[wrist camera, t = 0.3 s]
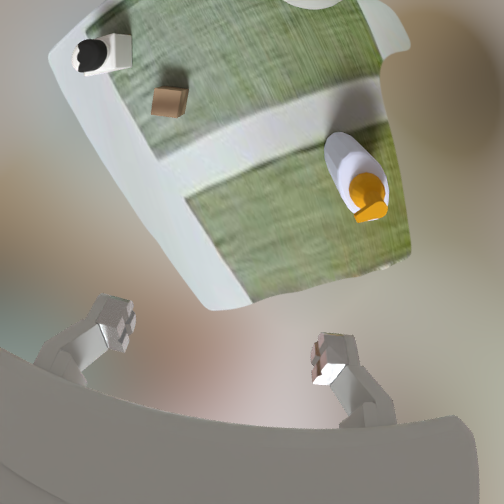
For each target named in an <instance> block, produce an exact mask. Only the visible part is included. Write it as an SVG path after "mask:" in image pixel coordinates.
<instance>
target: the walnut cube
mask: <svg viewBox="0 0 504 504" xmlns="http://www.w3.org/2000/svg"><path fill="white" fill-rule="evenodd" d="M188 92H189V89H185V88H177V87H169V86H162V87H158V88H155V90H154V96H153V103H152V110H151V115H158V116H166V117H173V118H178V117H180V116H181V115H183V114H185V109H186V103H187V98H188Z"/></svg>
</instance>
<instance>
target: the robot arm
mask: <svg viewBox="0 0 504 504" xmlns="http://www.w3.org/2000/svg"><path fill="white" fill-rule="evenodd" d="M284 1H285V2H287V3H289V4H291V5H294V6H296V7H300V8H305V9H323V8H327V7H330V6H333V5H335V4H337V3H338V2H340V1H342V0H284ZM133 306H134V305H133V302H132V301H130V300H126V299H122V298H119V297H115V296H111V295H108V294H104V293H101V294H100V295H99V296H98V297H97V299H96V301H95V302H94V304H93V306H92V308H91V310H90V312H89V313H88V315H87V317H86V319H85V320H84V319H82V320H80V321H78V322H77V323H75V324H74V325H72V326H70V327H68V328H67V329H65V330H64V331H62V332H60V333H59V334H57V335H55V336H54V337H52V338H51V339H49V340H47V341H46V342H44V344H43V346H42V348H41V350H40V352H39V354H38V356H37V358H36V360H35V362H34V364H31V363H29V362H27V361H25V360H23V359H21V358H20V357H18V356H16V355H14V354H12V353H10V352H8V351H7V350H5V349H3V348H1V347H0V504H479V468H478V459H477V451H476V445H475V440H474V436H473V434H472V432H471V430H470V429H469V428H468V427H467V426H466V425H465V424H464V423H463V421H462V420H461V419H459V418H458V417H457V416H455V415H452V416H445V417H441V418H435V419H430V420H424V421H418V422H411V423H404V424H397V421H396V415H395V409H394V404H393V400H392V399H391V398H390V397H389V395H388V394H387V393H386V392H385V391H384V390H383V388H382V387H381V386H380V385H379V384H378V382H377V381H376V380H375V379H374V378H373V377H372V375H371V374H370V373H369V372H368V371H367V370H366V369H365V367H364V366H360V361H359V356H358V351H357V346H356V341H355V337H354V336H353V335H344V334H335V333H324V332H322V333H320V334H319V336H318V341H317V342H316V343H314V345H313V347H312V350H311V363H312V365H313V366H314V368H313V370H312V372H311V373H312V384H320V385H330V387H331V389H332V391H333V392H334V394H335V395H336V397H337V398H338V400H339V402H340V403H341V405H342V406H343V408H344V410H345V411H346V413H347V414H348V417H347V418H346V419H344V420H343V421H342V422H341V423H340V424H339V429H296V428H278V427H277V428H276V427H263V426H253V425H243V424H235V423H228V422H221V421H215V420H209V419H203V418H197V417H191V416H187V415H182V414H177V413H173V412H168V411H163V410H160V409H155V408H152V407H148V406H144V405H140V404H137V403H133V402H130V401H126V400H123V399H120V398H116V397H114V396H110V395H107V394H104V393H101V392H98V391H96V390H93V389H90V388H87V387H86V385H87V380H86V379H85V377H84V376H83V374H82V373H81V371H83V370H84V369H85V368H86V367H87V366H89V365H90V364H91V363H92V362H93V361H94V360H96V359H97V358H98V357H99V356H101V355H102V354H103V353H104V352H105V351H107V350H108V349H112V350H116V351H120V352H125V350H126V348H127V345H128V343H129V338H128V336H129V335H130V334H132V333H133V330H134V328H135V323H136V315H135V313H134V312H133V310H132V309H133Z"/></svg>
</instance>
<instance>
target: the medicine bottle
mask: <svg viewBox="0 0 504 504" xmlns="http://www.w3.org/2000/svg"><path fill="white" fill-rule="evenodd" d="M72 65H73V67H74V69H75V70H77V71H78V72H84V76H91V75H97V74H103V73H107V72H112V71H116V70H121V69H125V68H130V67H132V38H131V35H127V34H118V33H112V34H109V35H105V36H102V37H99V38H96V39H87V40H84V41H82V42H80V43H79V44H78V45H77V46H76V48H75V49H74V51H73V54H72Z"/></svg>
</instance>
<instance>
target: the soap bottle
mask: <svg viewBox="0 0 504 504" xmlns="http://www.w3.org/2000/svg"><path fill="white" fill-rule="evenodd" d="M324 155H325V161H326V164H327V167H328V170H329V172H330V174H331V176H332V178H333V180H334V182H335V184H336V187H337V189H338V191H339V193H340V195H341V197H342V199H343V200H344V202H345V204H346V205H347V207H348V208H349V210H351V211H352V212H353V213H354V217H355V219H356V221H357V222H358V223H359V222H364V221H370V220H377V219H378V218H381V217H383V216H385V214H386V213H387V210H388V207H387V206H388V199H389V187H388V182H387V177H386V175H385V173H384V171H383V169H382V167H381V165H380V164H379V163H378V162H377V161H376V160H375V159H374V158H373V157H372V156H371V155H370V154H369V153H368V152H367V151H366V150H365V149H364V148H363V147H362V146H361V145H360V144H359V143H358V142H357V141H356V140H355V139H354V138H353V137H352V136H350V135H348V134H346V133H343V132H336V133H333V134H331V135H330V136H329V137H328V138H327V140H326V144H325V147H324Z"/></svg>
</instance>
